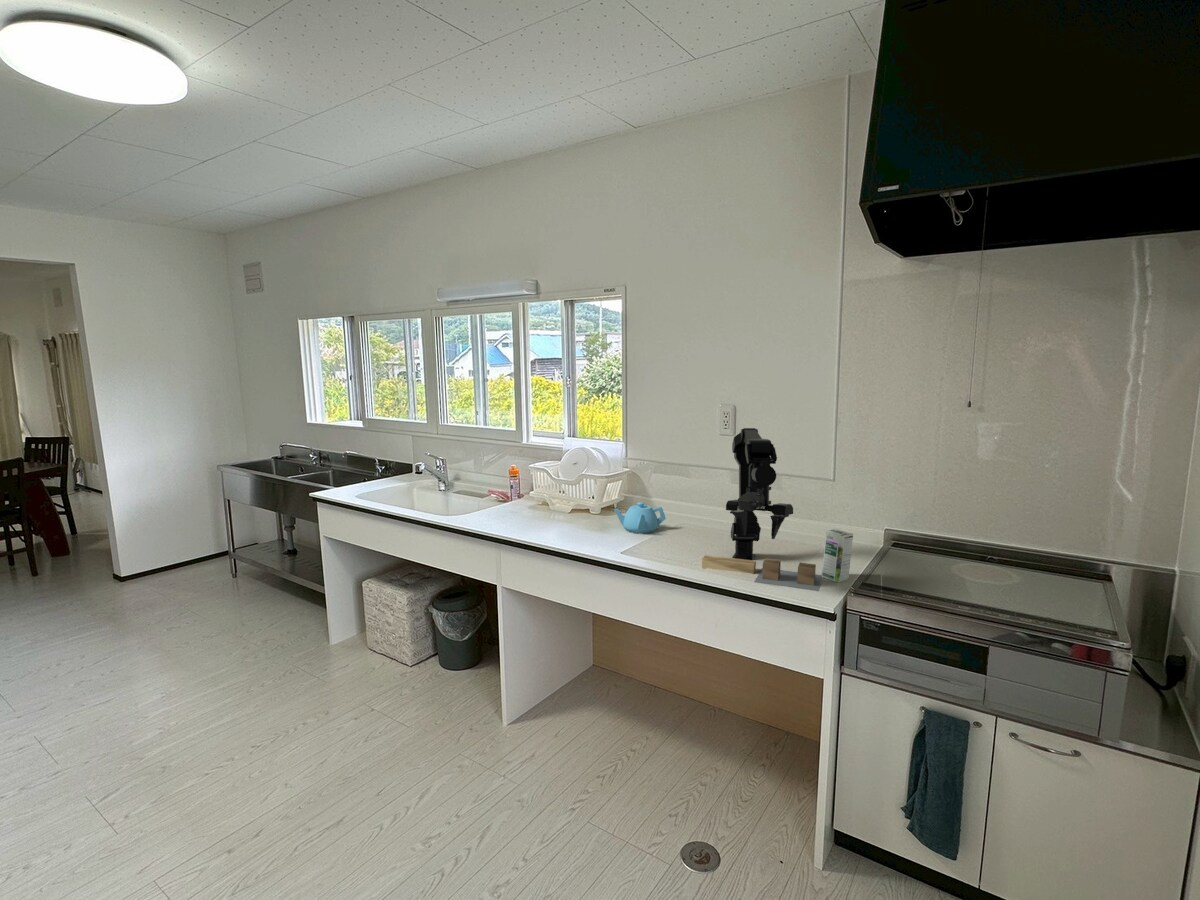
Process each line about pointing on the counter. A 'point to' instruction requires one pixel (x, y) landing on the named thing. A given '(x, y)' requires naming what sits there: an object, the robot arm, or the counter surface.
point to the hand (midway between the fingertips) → (758, 537)
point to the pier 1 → (771, 569)
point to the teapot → (641, 518)
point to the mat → (790, 580)
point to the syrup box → (837, 555)
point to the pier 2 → (806, 574)
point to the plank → (729, 564)
